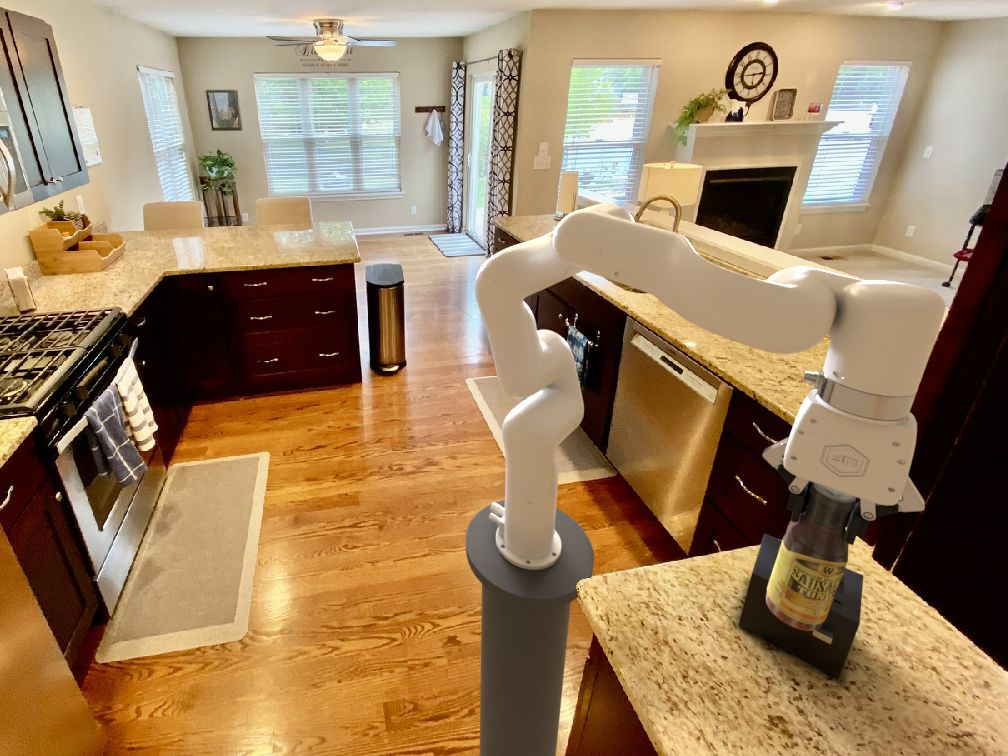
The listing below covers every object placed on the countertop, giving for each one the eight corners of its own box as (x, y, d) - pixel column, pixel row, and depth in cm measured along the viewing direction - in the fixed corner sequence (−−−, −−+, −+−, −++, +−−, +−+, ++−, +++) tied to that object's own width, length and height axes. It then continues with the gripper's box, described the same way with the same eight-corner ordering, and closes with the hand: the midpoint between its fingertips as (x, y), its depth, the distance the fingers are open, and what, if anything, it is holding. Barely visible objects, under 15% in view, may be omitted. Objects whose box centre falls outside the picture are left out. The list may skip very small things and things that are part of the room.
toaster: (736, 631, 75) (750, 577, 71) (751, 583, 82) (764, 532, 79) (837, 687, 67) (859, 629, 63) (843, 628, 75) (863, 574, 71)
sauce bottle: (776, 629, 62) (811, 504, 55) (755, 587, 68) (785, 469, 61) (836, 640, 60) (880, 512, 54) (810, 596, 66) (847, 475, 59)
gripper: (762, 383, 56) (733, 510, 62) (983, 440, 45) (921, 587, 51) (774, 361, 61) (746, 479, 67) (975, 406, 50) (919, 544, 56)
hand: (822, 524), depth 59 cm, fingers closed on sauce bottle, 4 cm apart
